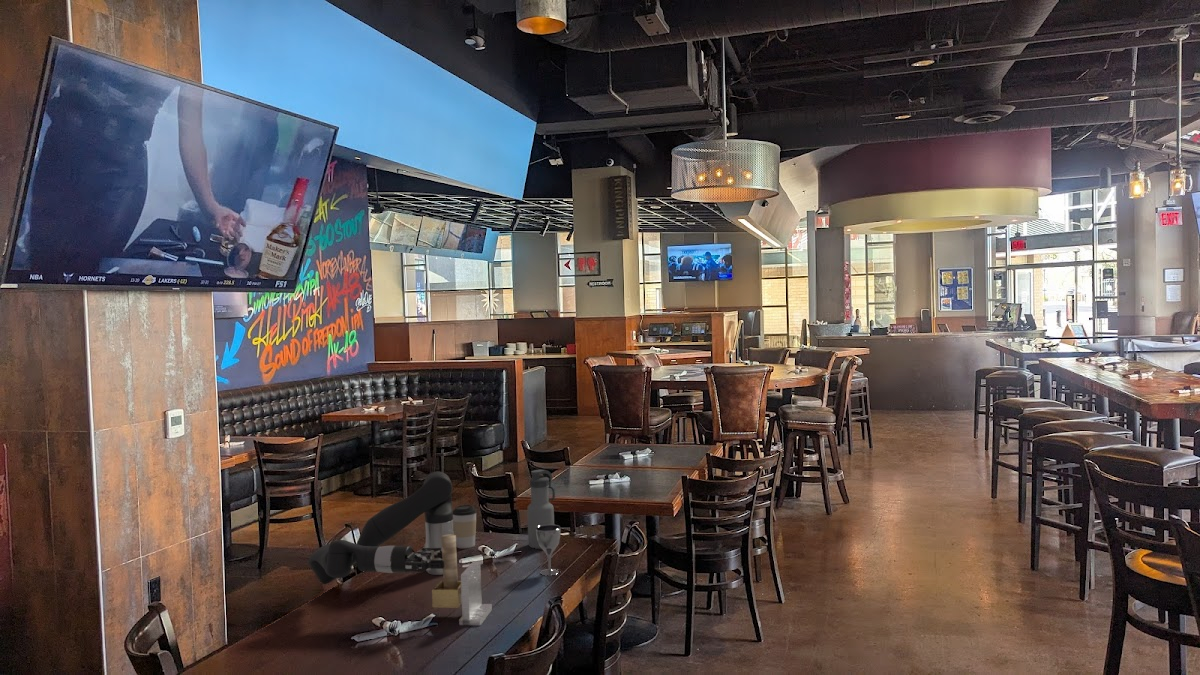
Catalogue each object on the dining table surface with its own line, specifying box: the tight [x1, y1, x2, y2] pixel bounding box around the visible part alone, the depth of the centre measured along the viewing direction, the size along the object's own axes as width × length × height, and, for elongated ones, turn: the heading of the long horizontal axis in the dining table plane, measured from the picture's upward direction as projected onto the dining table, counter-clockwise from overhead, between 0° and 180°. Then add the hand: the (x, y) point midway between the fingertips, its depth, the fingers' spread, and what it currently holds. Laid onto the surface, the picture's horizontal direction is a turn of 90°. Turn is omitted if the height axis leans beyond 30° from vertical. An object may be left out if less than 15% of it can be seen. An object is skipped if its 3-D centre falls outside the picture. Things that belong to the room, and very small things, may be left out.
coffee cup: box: [452, 504, 478, 549], centre depth 290 cm, size 9×9×15 cm
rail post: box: [442, 534, 459, 589], centre depth 219 cm, size 4×4×18 cm
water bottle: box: [526, 469, 556, 550], centre depth 286 cm, size 10×10×28 cm
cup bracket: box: [431, 560, 493, 626], centre depth 219 cm, size 14×12×14 cm
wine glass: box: [536, 524, 561, 577], centre depth 255 cm, size 8×8×15 cm
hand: (448, 559), depth 219 cm, fingers open, 8 cm apart
